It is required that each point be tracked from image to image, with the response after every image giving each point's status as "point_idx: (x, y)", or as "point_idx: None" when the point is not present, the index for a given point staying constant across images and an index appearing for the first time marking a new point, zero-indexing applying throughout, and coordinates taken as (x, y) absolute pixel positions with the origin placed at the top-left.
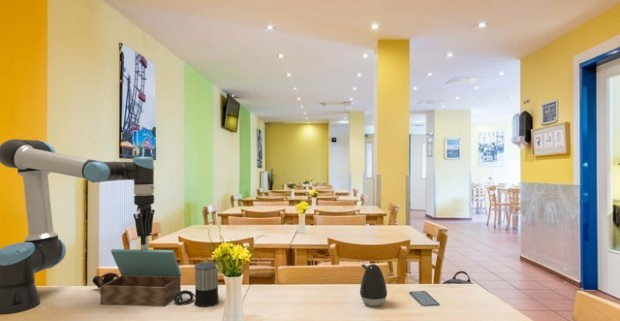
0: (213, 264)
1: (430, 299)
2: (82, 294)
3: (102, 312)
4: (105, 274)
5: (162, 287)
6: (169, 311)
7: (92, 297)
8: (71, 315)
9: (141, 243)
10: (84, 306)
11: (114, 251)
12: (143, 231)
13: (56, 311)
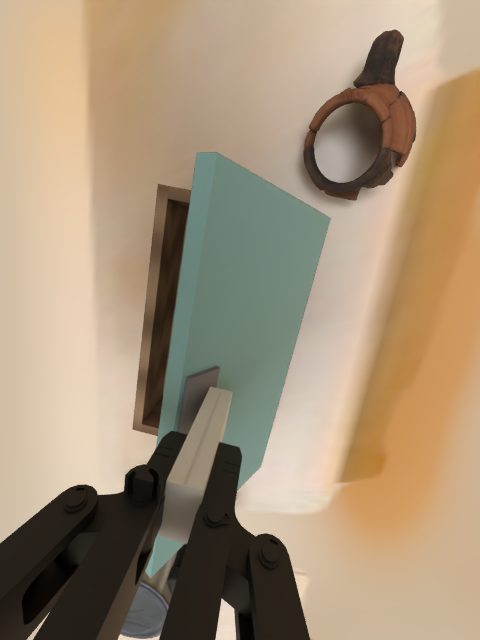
0: (146, 625)
1: None
2: (308, 51)
3: (114, 238)
4: (371, 105)
5: (136, 422)
6: (122, 413)
7: (261, 124)
8: (89, 143)
9: (160, 443)
10: (166, 145)
11: (193, 191)
12: (39, 604)
13: (121, 57)
